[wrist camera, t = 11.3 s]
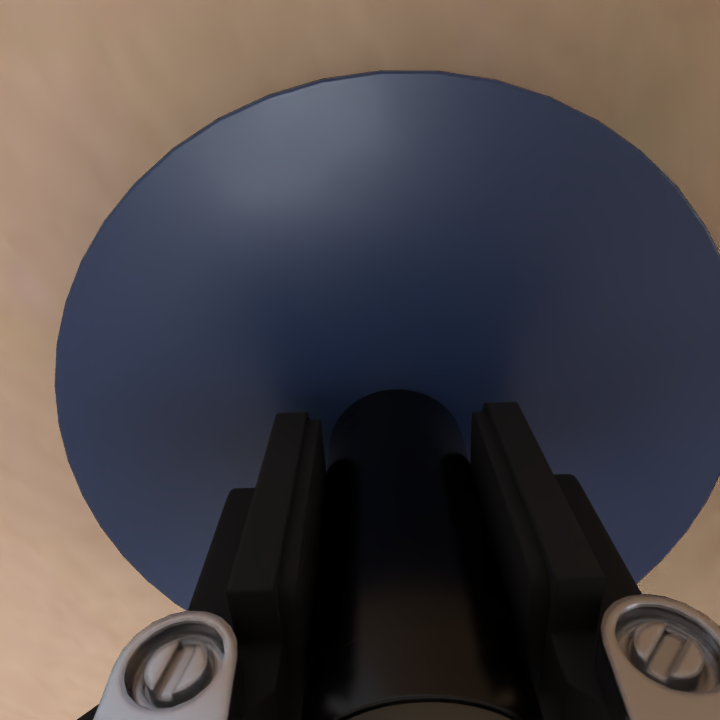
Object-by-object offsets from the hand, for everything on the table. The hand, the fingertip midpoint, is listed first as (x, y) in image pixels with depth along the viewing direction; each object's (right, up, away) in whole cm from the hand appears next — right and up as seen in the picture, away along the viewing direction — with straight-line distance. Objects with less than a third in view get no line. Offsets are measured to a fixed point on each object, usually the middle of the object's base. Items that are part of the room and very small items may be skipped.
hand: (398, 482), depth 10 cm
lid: (0, +1, +2) cm, 2 cm away
